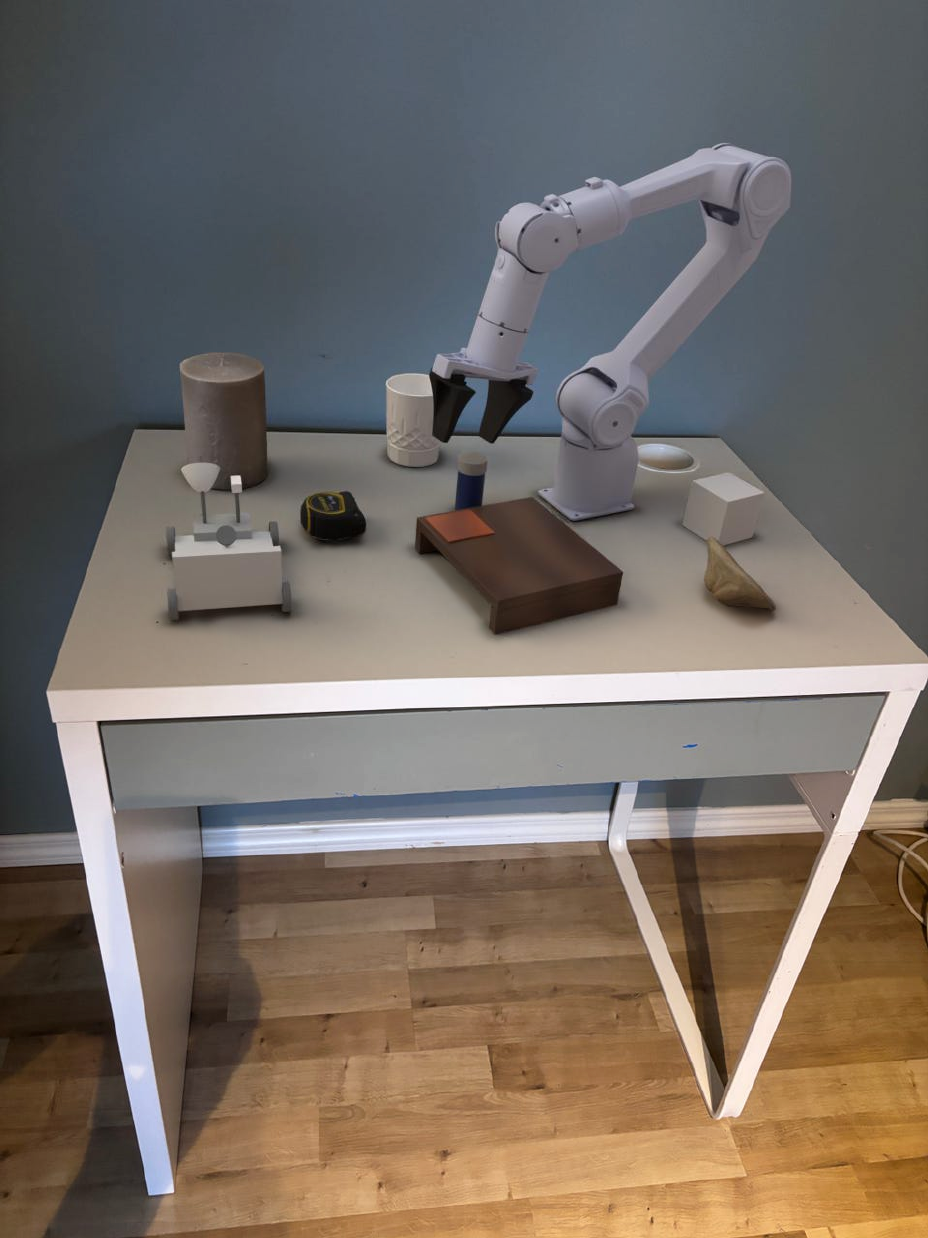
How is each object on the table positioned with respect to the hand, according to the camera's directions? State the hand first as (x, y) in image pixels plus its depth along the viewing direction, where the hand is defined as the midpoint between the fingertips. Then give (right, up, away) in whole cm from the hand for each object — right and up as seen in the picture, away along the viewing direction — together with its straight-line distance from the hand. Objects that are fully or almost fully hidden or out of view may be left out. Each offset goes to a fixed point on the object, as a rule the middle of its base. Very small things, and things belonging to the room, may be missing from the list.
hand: (463, 439), depth 111 cm
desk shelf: (+5, -16, -5) cm, 17 cm away
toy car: (-25, -16, -9) cm, 31 cm away
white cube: (+31, -10, +8) cm, 33 cm away
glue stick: (+1, -8, +6) cm, 10 cm away
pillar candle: (-29, -2, +11) cm, 31 cm away
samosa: (+29, -18, -5) cm, 35 cm away
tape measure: (-14, -10, +1) cm, 18 cm away
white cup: (-7, +1, +19) cm, 20 cm away
